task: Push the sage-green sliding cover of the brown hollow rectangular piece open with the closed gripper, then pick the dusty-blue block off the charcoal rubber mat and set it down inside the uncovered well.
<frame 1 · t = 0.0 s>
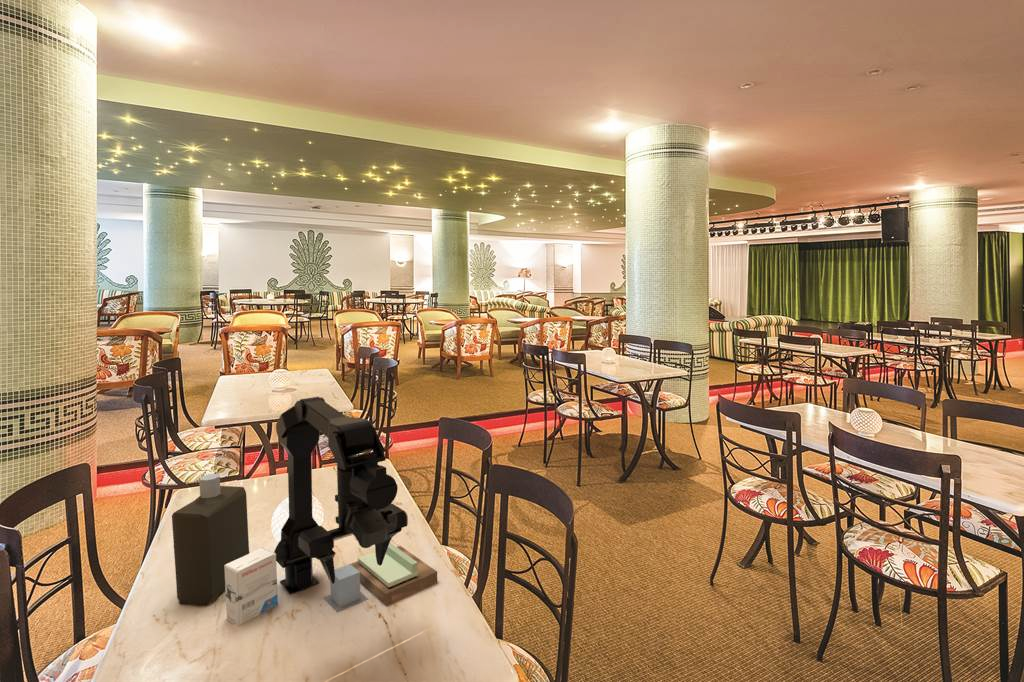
hand: (356, 573, 99), 15 cm above the table, fingers open, 9 cm apart
brown hollow rectangular piece: (393, 580, 123), on the table
block: (345, 598, 115), resting on mat
ink box: (253, 613, 111), on the table
cover: (387, 562, 121), point 5 cm above the table, slide at 0.0 cm
bottle: (215, 586, 120), on the table
mat: (345, 600, 115), on the table
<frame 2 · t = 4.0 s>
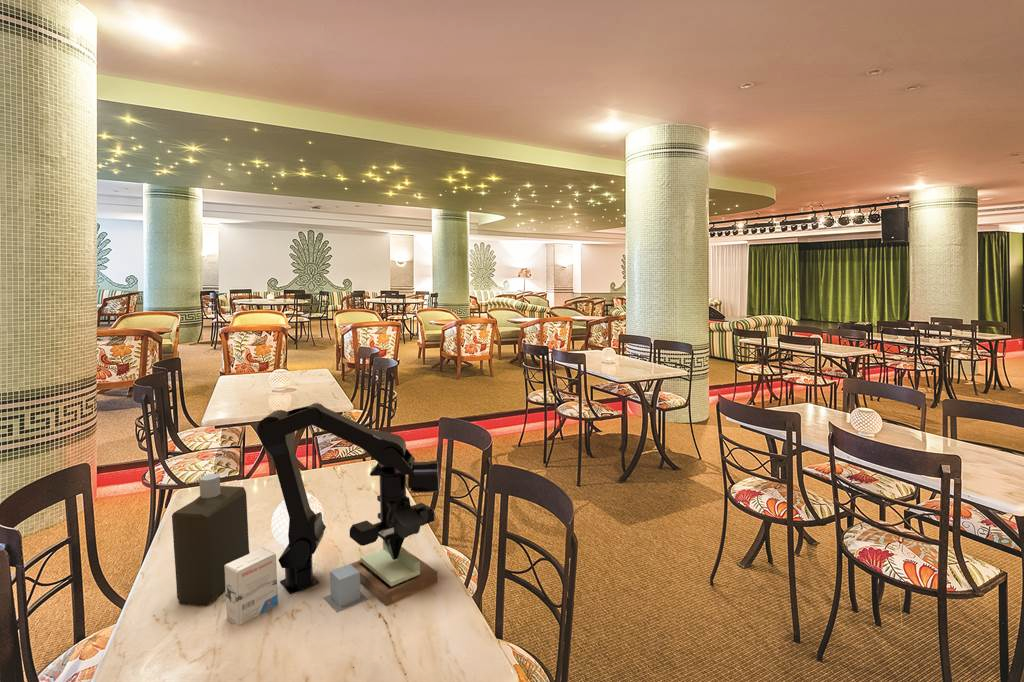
hand: (394, 558, 122), 5 cm above the table, fingers closed
cover: (389, 561, 122), point 5 cm above the table, slide at 0.6 cm, touching gripper
everything else where it was.
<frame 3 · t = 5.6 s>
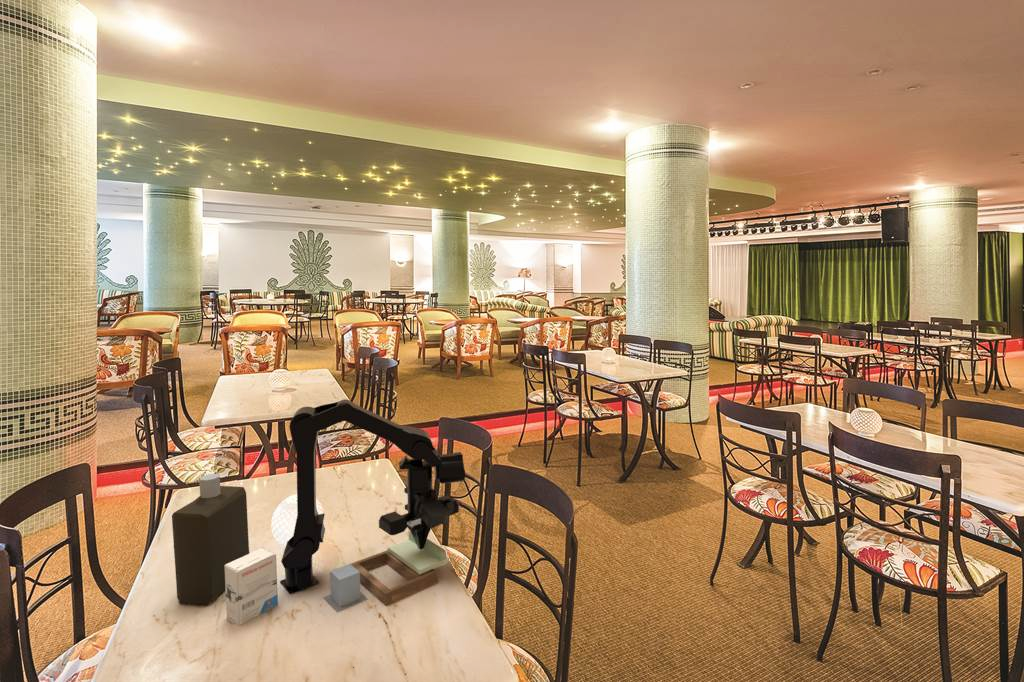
hand: (420, 548, 127), 5 cm above the table, fingers closed
cover: (416, 550, 126), point 5 cm above the table, slide at 7.6 cm, touching gripper
everything else where it was.
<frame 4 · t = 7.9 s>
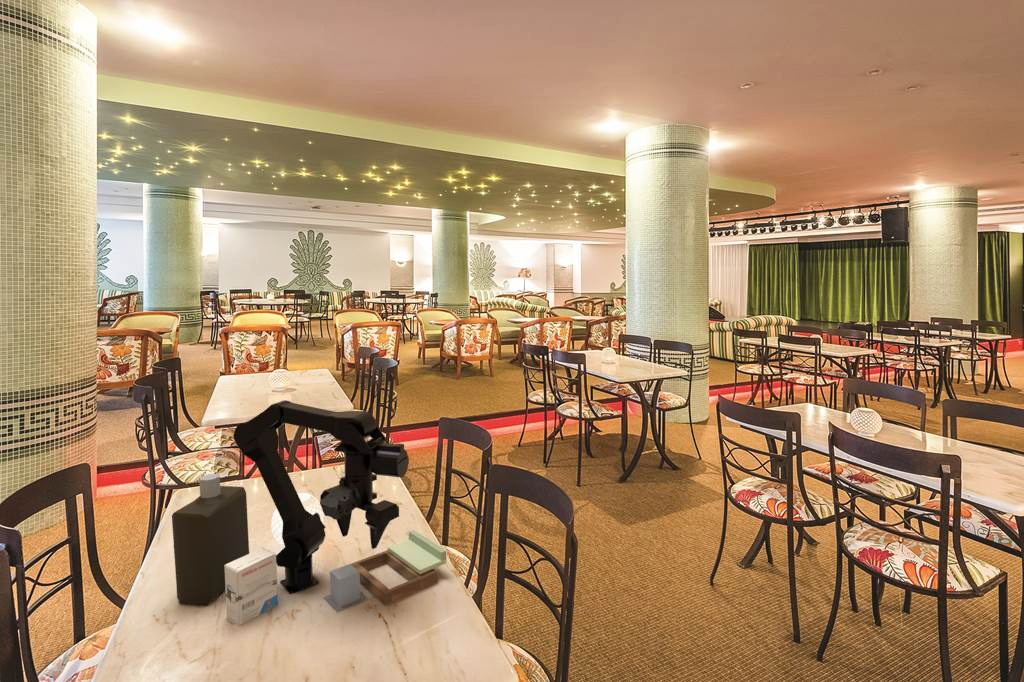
hand: (359, 541, 116), 12 cm above the table, fingers open, 9 cm apart
cover: (416, 550, 126), point 5 cm above the table, slide at 7.7 cm
everything else where it was.
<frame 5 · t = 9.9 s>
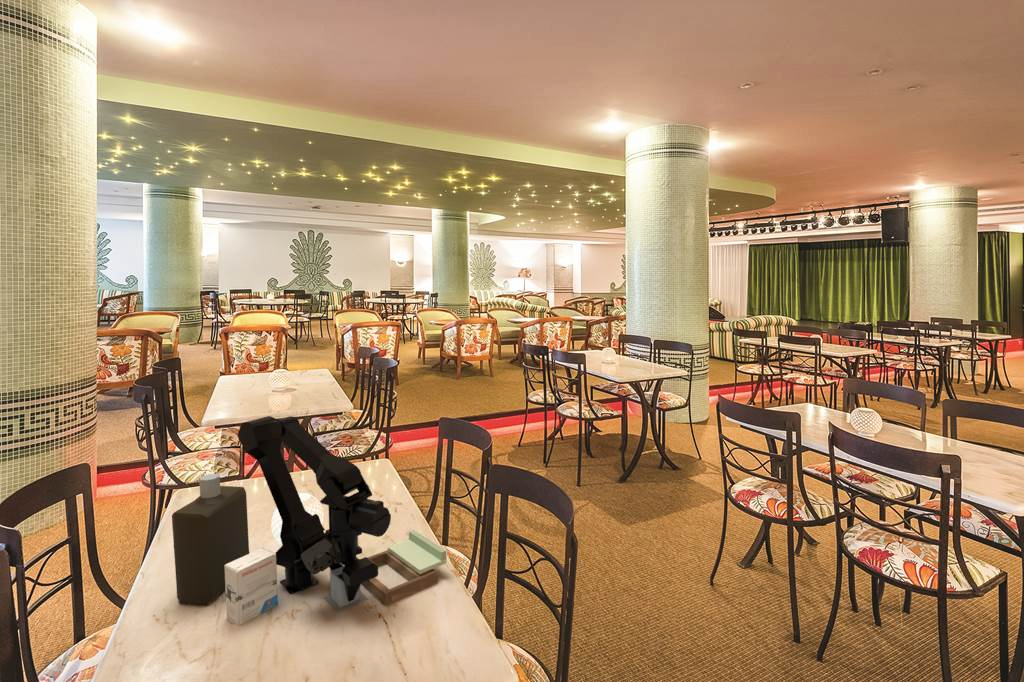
hand: (345, 595, 115), 1 cm above the table, fingers closed on block, 4 cm apart
block: (345, 598, 115), resting on mat, touching gripper
everything else where it was.
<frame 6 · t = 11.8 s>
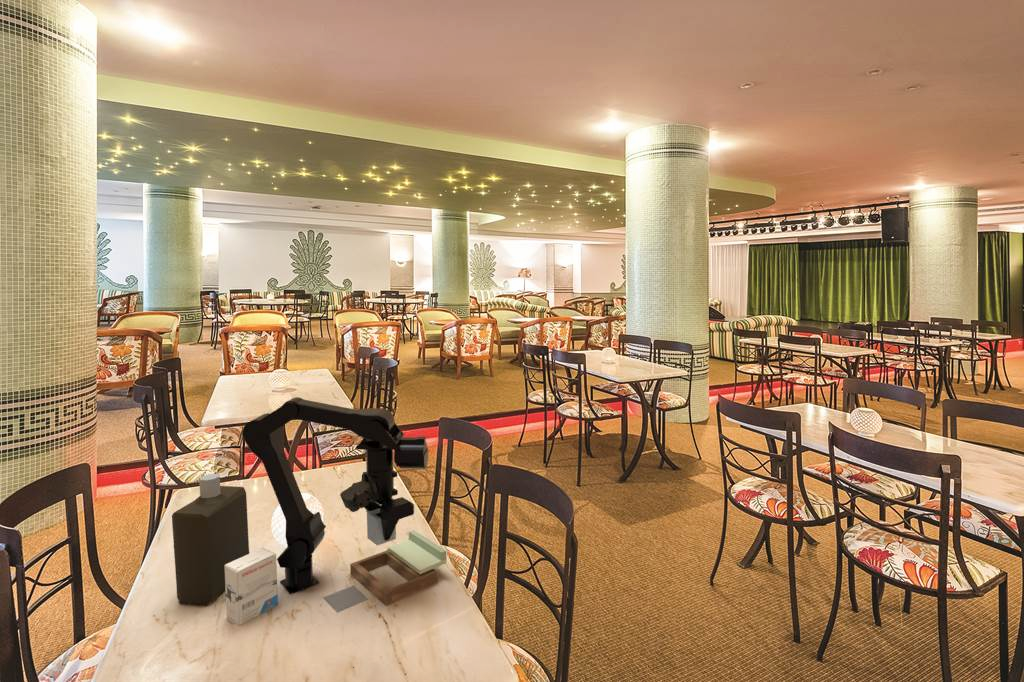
hand: (381, 536, 120), 12 cm above the table, fingers closed on block, 4 cm apart
block: (381, 538, 120), point 11 cm above the table, touching gripper
everything else where it was.
when the fingers open (3 cm above the table, at t = 13.7 s): block drops 2 cm, resting on brown hollow rectangular piece.
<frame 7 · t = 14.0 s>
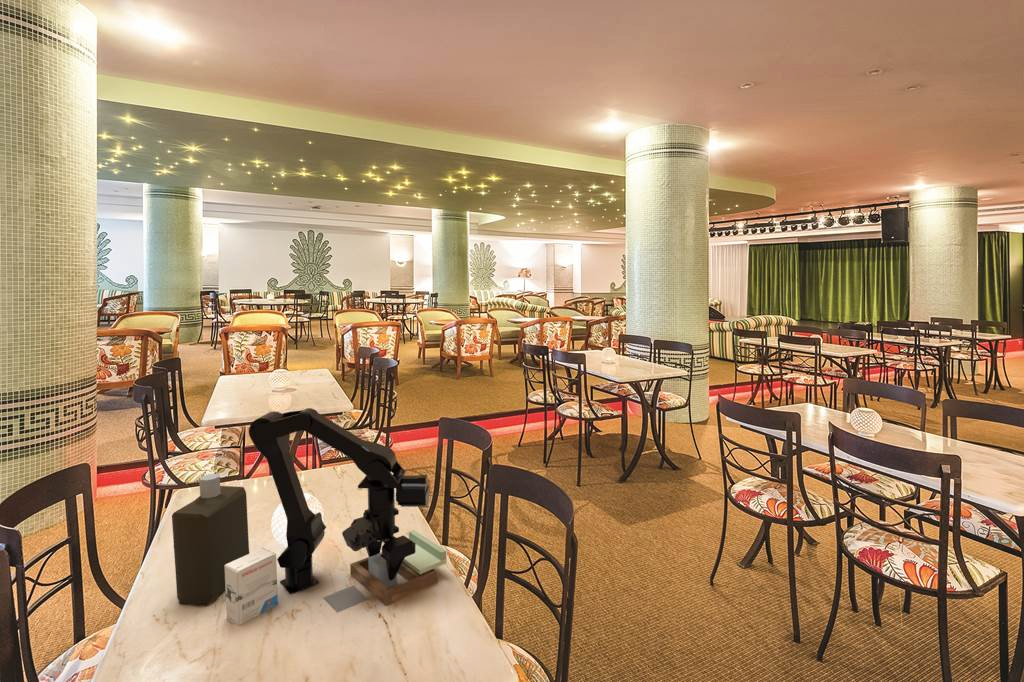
hand: (382, 572, 121), 3 cm above the table, fingers open, 7 cm apart
block: (382, 583, 121), resting on brown hollow rectangular piece
everything else where it was.
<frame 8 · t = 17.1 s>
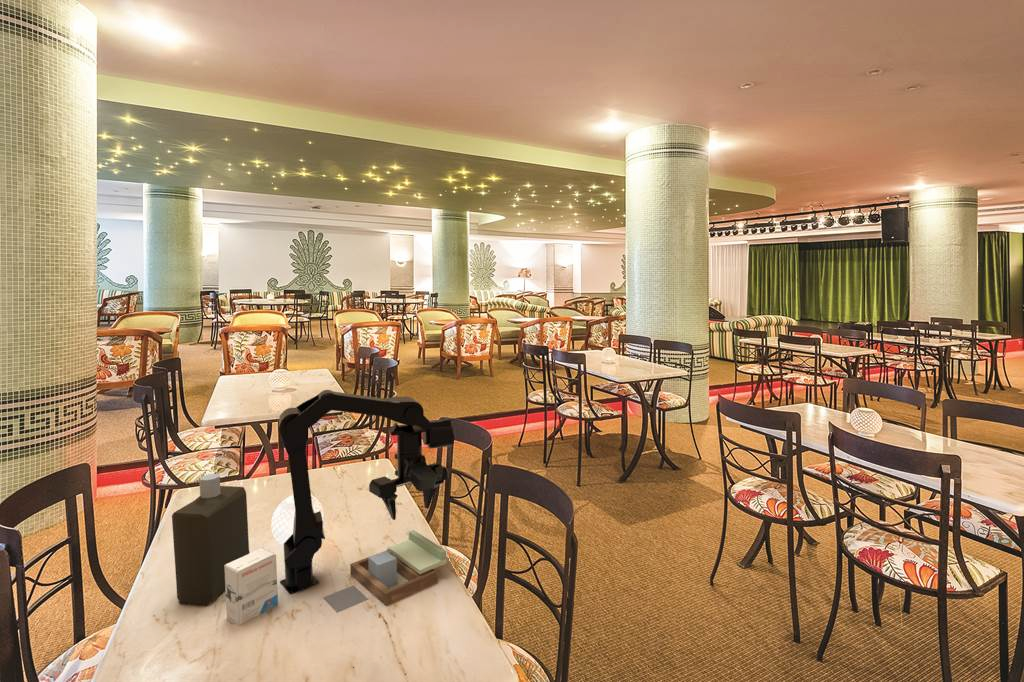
hand: (410, 513, 130), 12 cm above the table, fingers open, 9 cm apart
nothing on the table moved.
at the end: cover slide at 7.7 cm; block inside the target area (1.1 cm from its centre), resting on brown hollow rectangular piece; block tilted 0° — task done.
